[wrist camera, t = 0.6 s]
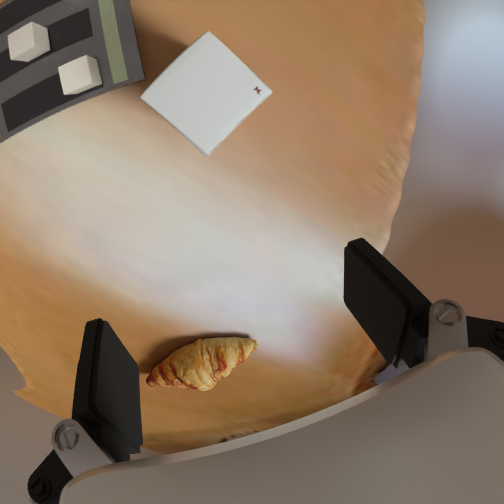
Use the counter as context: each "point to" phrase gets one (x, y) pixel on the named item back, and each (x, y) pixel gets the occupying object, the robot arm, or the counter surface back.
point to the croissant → (201, 363)
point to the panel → (64, 56)
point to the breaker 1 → (28, 42)
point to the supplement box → (206, 93)
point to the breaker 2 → (79, 75)
